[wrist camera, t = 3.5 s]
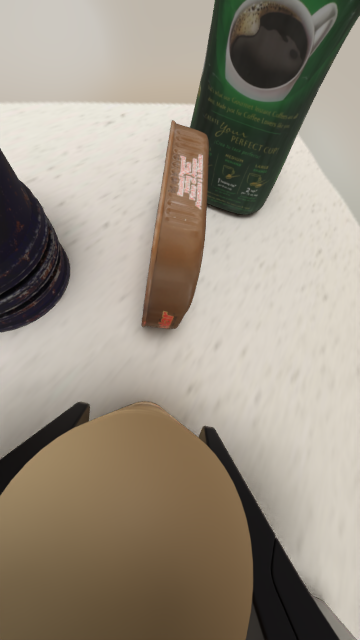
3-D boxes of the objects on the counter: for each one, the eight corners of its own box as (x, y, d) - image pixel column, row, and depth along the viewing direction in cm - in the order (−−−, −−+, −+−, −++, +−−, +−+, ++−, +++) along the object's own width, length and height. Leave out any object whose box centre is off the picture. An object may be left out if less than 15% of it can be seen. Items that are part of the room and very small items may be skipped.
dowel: (120, 480, 13) (-44, 950, 2) (105, 413, 14) (-52, 472, 3) (180, 453, 14) (300, 667, 3) (161, 393, 15) (198, 381, 4)
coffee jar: (269, 180, 25) (536, -303, 8) (255, 227, 22) (637, -379, 5) (193, 151, 25) (292, -402, 8) (169, 194, 22) (245, -540, 5)
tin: (160, 199, 22) (167, 87, 14) (190, 204, 22) (213, 98, 14) (138, 340, 16) (129, 288, 9) (178, 345, 17) (205, 298, 9)
